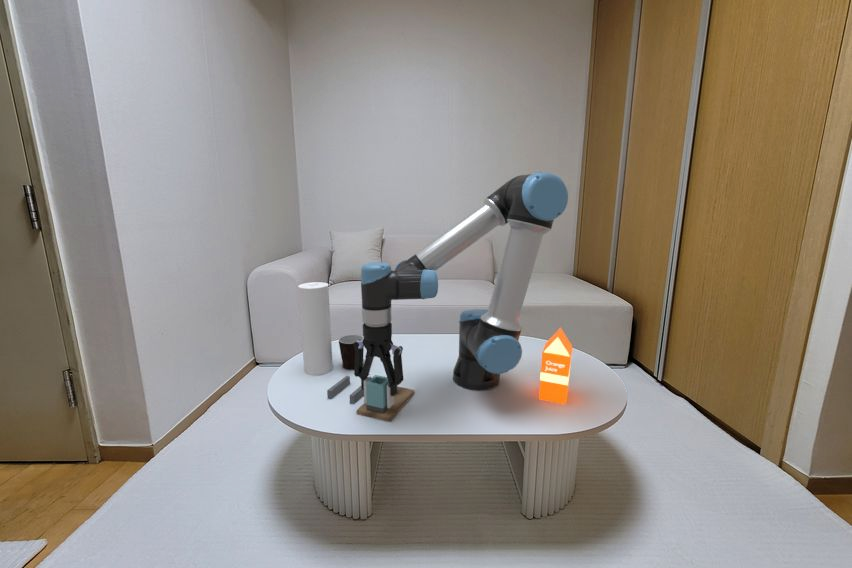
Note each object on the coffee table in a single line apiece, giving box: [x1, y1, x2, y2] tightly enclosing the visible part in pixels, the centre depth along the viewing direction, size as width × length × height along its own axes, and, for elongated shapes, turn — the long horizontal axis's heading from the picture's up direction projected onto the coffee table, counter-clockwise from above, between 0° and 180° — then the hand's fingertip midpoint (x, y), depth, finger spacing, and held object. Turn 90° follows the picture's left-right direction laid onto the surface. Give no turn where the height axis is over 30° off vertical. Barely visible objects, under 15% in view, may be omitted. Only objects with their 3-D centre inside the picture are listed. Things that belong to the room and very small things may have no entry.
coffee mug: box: [338, 334, 364, 371], centre depth 128 cm, size 12×9×10 cm
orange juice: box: [538, 327, 573, 405], centre depth 109 cm, size 8×9×20 cm
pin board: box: [356, 385, 415, 423], centre depth 106 cm, size 10×16×7 cm, turn 158°
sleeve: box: [366, 374, 389, 414], centre depth 101 cm, size 5×5×8 cm
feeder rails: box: [326, 375, 364, 405], centre depth 112 cm, size 9×10×2 cm
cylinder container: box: [297, 281, 334, 376], centre depth 125 cm, size 9×9×30 cm
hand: (379, 402), depth 102 cm, fingers open, 6 cm apart
